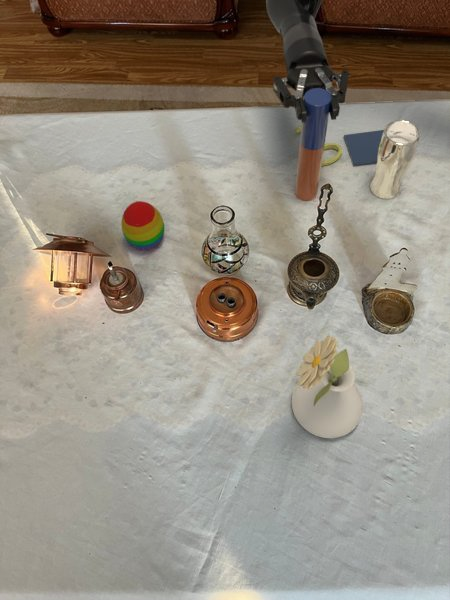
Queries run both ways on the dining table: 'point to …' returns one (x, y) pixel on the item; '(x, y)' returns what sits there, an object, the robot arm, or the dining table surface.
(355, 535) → the dining table surface
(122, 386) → the dining table surface
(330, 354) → the flower in vase
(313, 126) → the blue canister
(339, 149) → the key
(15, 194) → the dining table surface
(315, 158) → the terracotta pillar
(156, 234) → the decorative egg
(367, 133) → the blue tile
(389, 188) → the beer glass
